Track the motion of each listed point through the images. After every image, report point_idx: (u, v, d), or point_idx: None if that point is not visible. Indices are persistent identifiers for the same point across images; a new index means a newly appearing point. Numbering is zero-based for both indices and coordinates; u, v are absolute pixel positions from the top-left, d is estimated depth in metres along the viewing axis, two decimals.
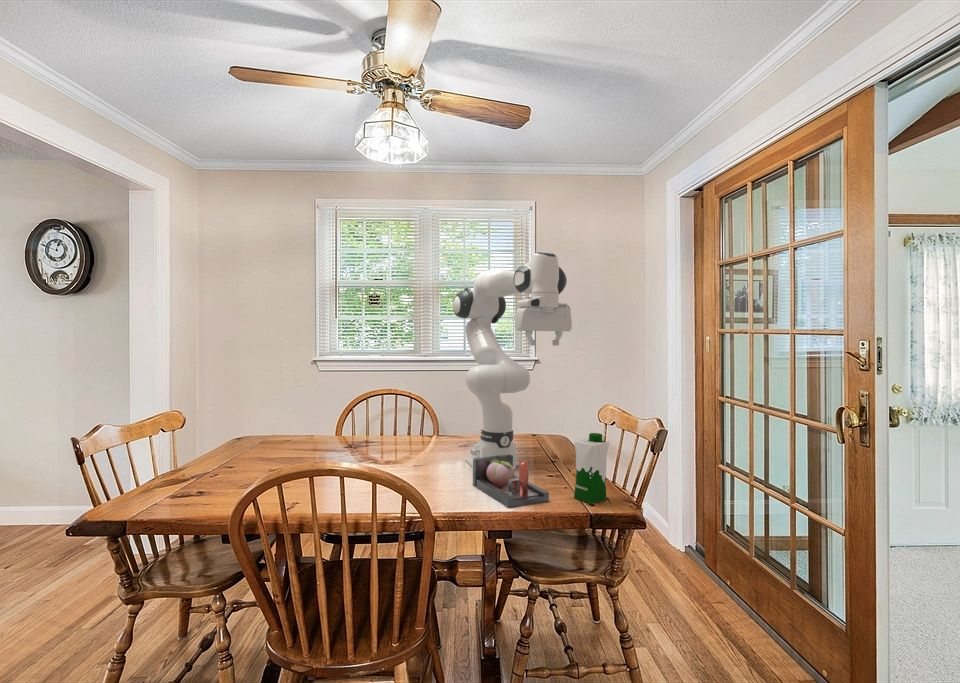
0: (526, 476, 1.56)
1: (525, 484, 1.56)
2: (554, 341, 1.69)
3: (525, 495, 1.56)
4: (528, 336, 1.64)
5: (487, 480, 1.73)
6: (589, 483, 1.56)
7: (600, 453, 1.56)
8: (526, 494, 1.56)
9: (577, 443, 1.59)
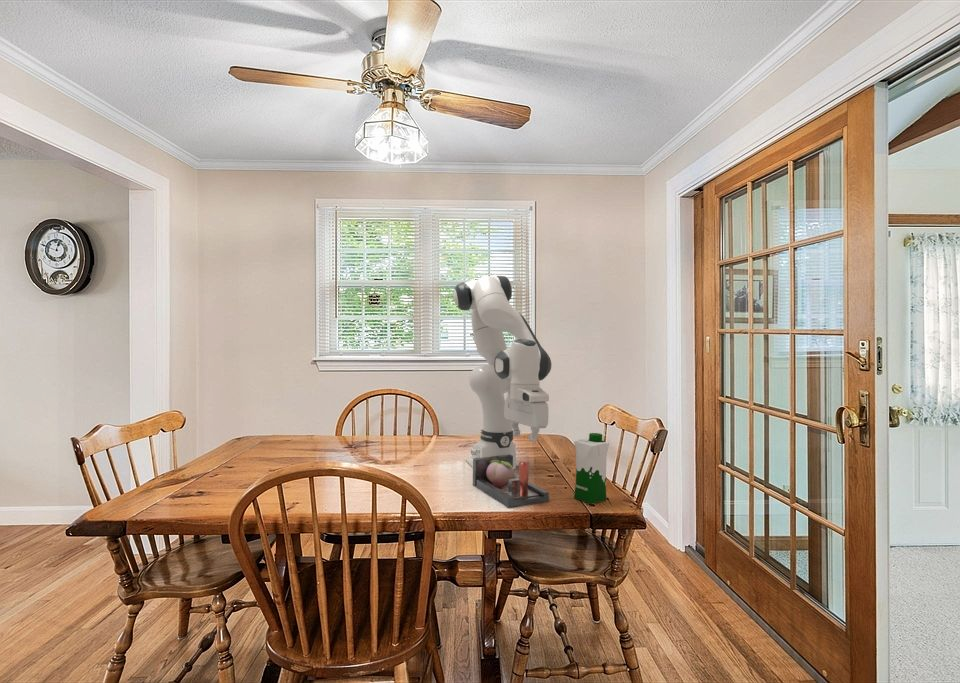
0: (526, 476, 1.56)
1: (525, 484, 1.56)
2: (518, 432, 1.61)
3: (525, 495, 1.56)
4: (536, 432, 1.51)
5: (487, 480, 1.73)
6: (589, 483, 1.56)
7: (600, 453, 1.56)
8: (526, 494, 1.56)
9: (577, 443, 1.59)
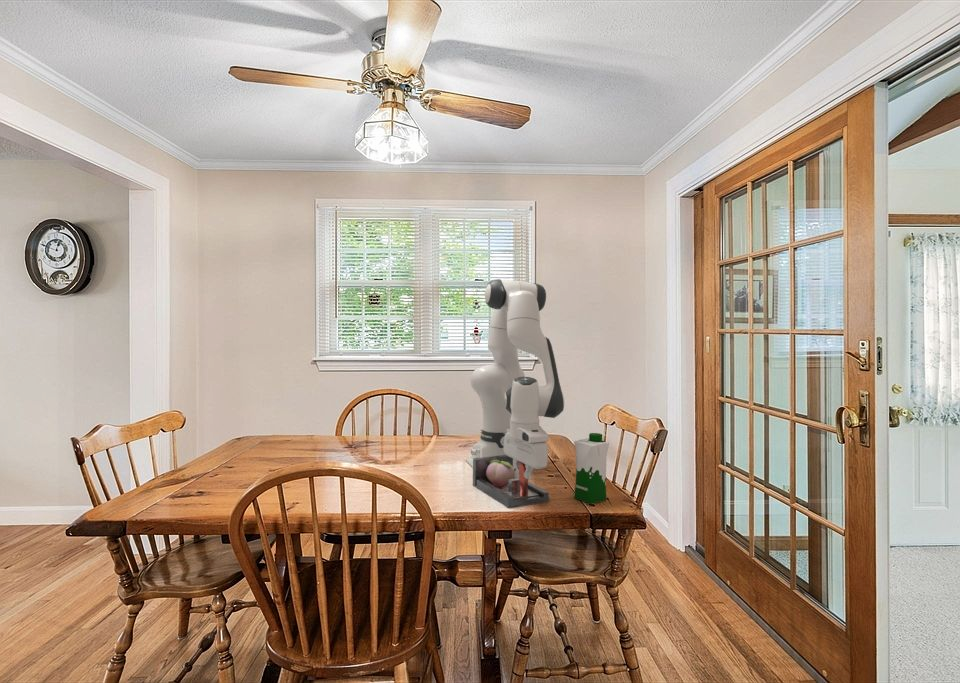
0: None
1: (525, 484, 1.56)
2: None
3: (525, 495, 1.56)
4: (530, 469, 1.54)
5: (487, 480, 1.73)
6: (589, 483, 1.56)
7: (600, 453, 1.56)
8: (526, 494, 1.56)
9: (577, 443, 1.59)
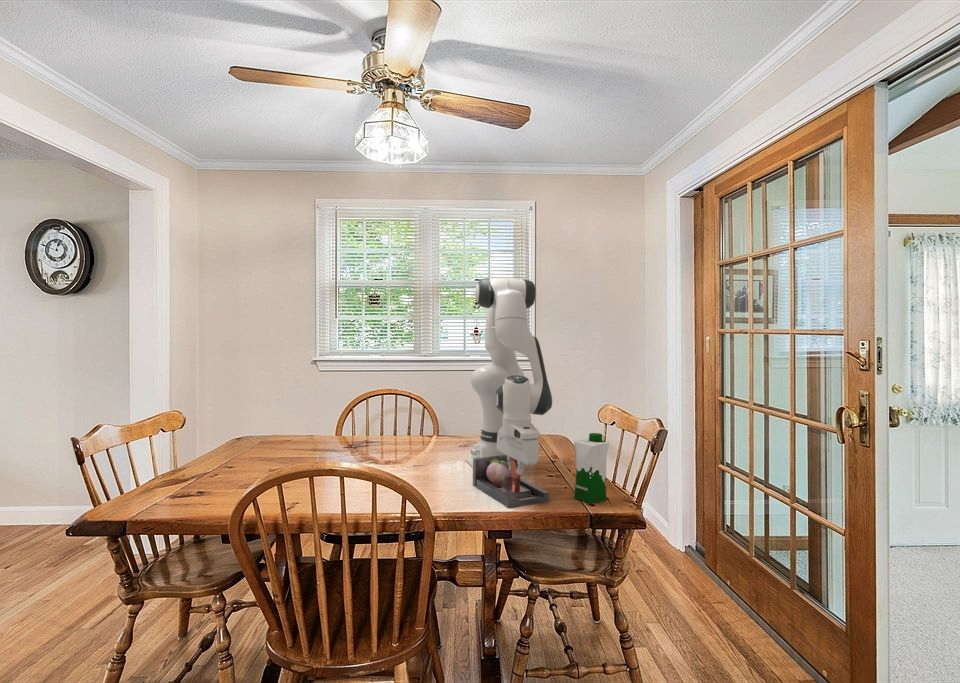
0: None
1: (518, 480, 1.60)
2: None
3: (517, 491, 1.60)
4: (522, 466, 1.58)
5: (487, 480, 1.73)
6: (589, 483, 1.56)
7: (600, 453, 1.56)
8: (518, 490, 1.61)
9: (577, 443, 1.59)
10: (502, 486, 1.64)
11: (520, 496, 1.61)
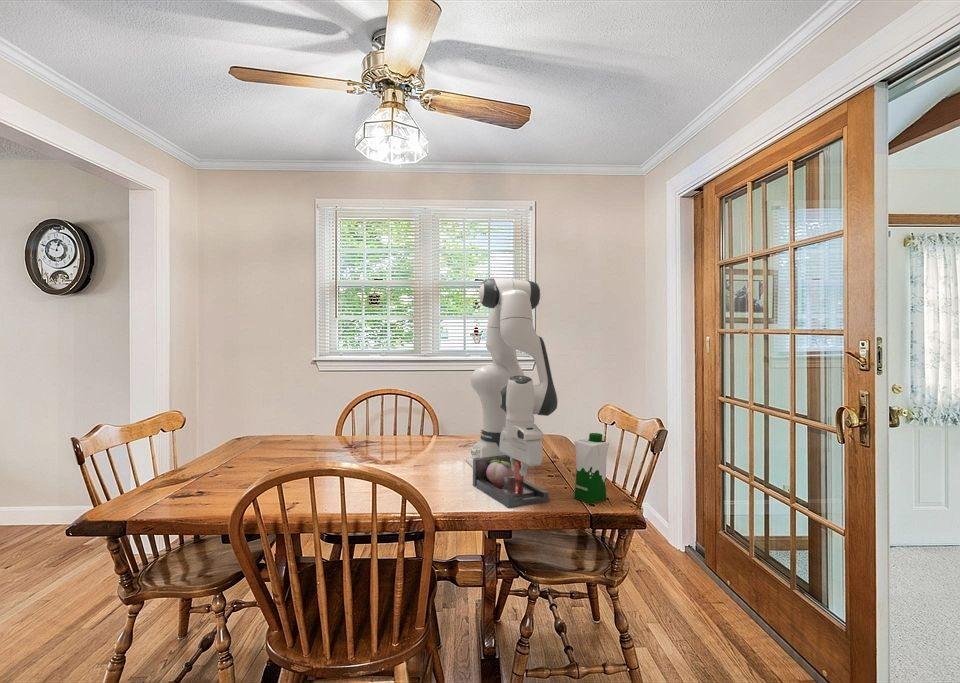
0: None
1: (521, 481, 1.59)
2: None
3: (520, 492, 1.59)
4: (526, 467, 1.57)
5: (487, 480, 1.73)
6: (589, 483, 1.56)
7: (600, 453, 1.56)
8: (521, 491, 1.59)
9: (577, 443, 1.59)
10: (505, 488, 1.62)
11: (523, 498, 1.59)
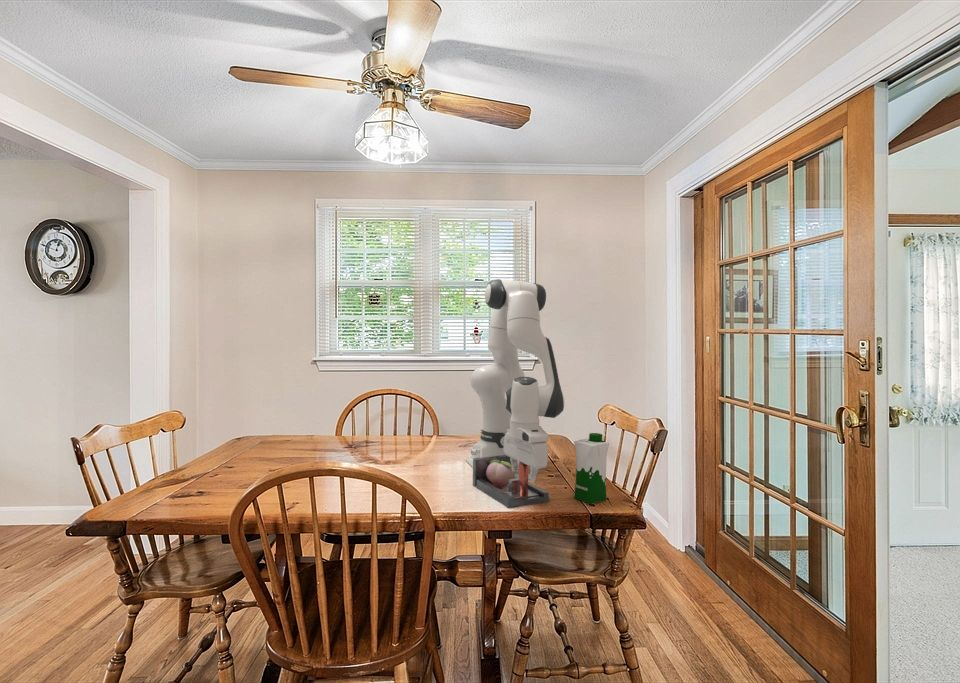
0: (526, 476, 1.56)
1: (525, 484, 1.56)
2: (517, 468, 1.61)
3: (525, 495, 1.56)
4: (535, 472, 1.52)
5: (487, 480, 1.73)
6: (589, 483, 1.56)
7: (600, 453, 1.56)
8: (526, 494, 1.56)
9: (577, 443, 1.59)
10: (509, 490, 1.60)
11: None
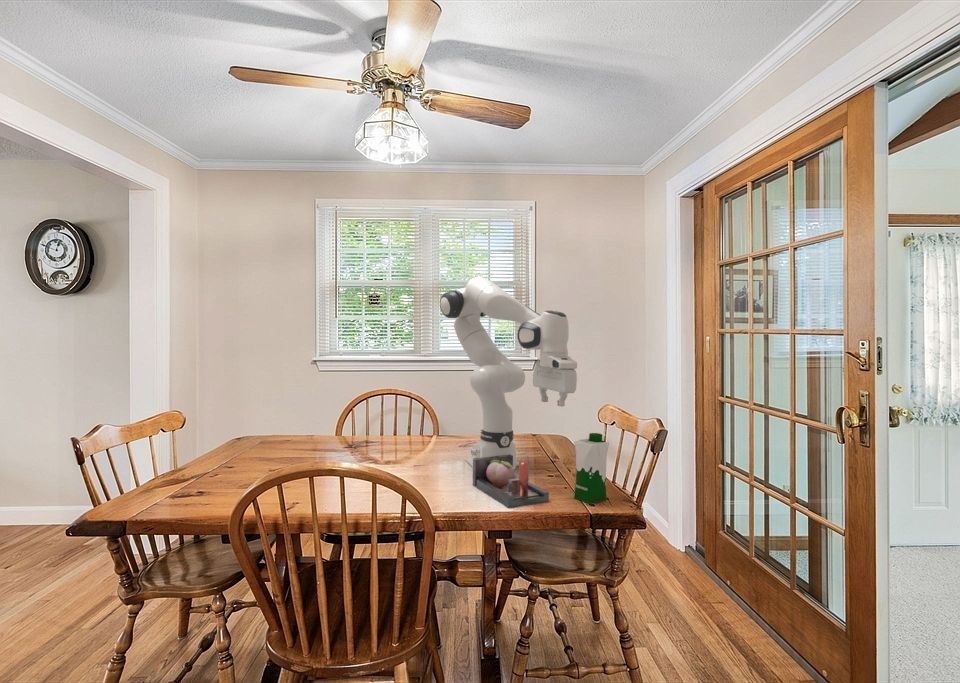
0: (526, 476, 1.56)
1: (525, 484, 1.56)
2: (546, 398, 1.71)
3: (525, 495, 1.56)
4: (564, 397, 1.62)
5: (487, 480, 1.73)
6: (589, 483, 1.56)
7: (600, 453, 1.56)
8: (526, 494, 1.56)
9: (577, 443, 1.59)
10: (509, 490, 1.60)
11: None
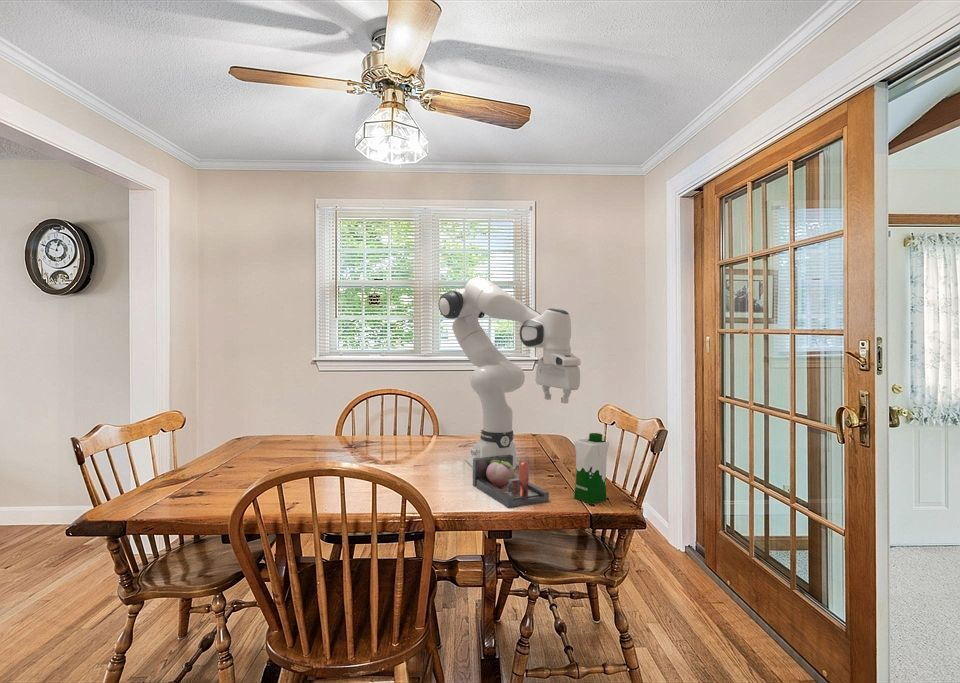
0: (526, 476, 1.56)
1: (525, 484, 1.56)
2: (549, 395, 1.72)
3: (525, 495, 1.56)
4: (568, 394, 1.63)
5: (487, 480, 1.73)
6: (589, 483, 1.56)
7: (600, 453, 1.56)
8: (526, 494, 1.56)
9: (577, 443, 1.59)
10: (509, 490, 1.60)
11: None
